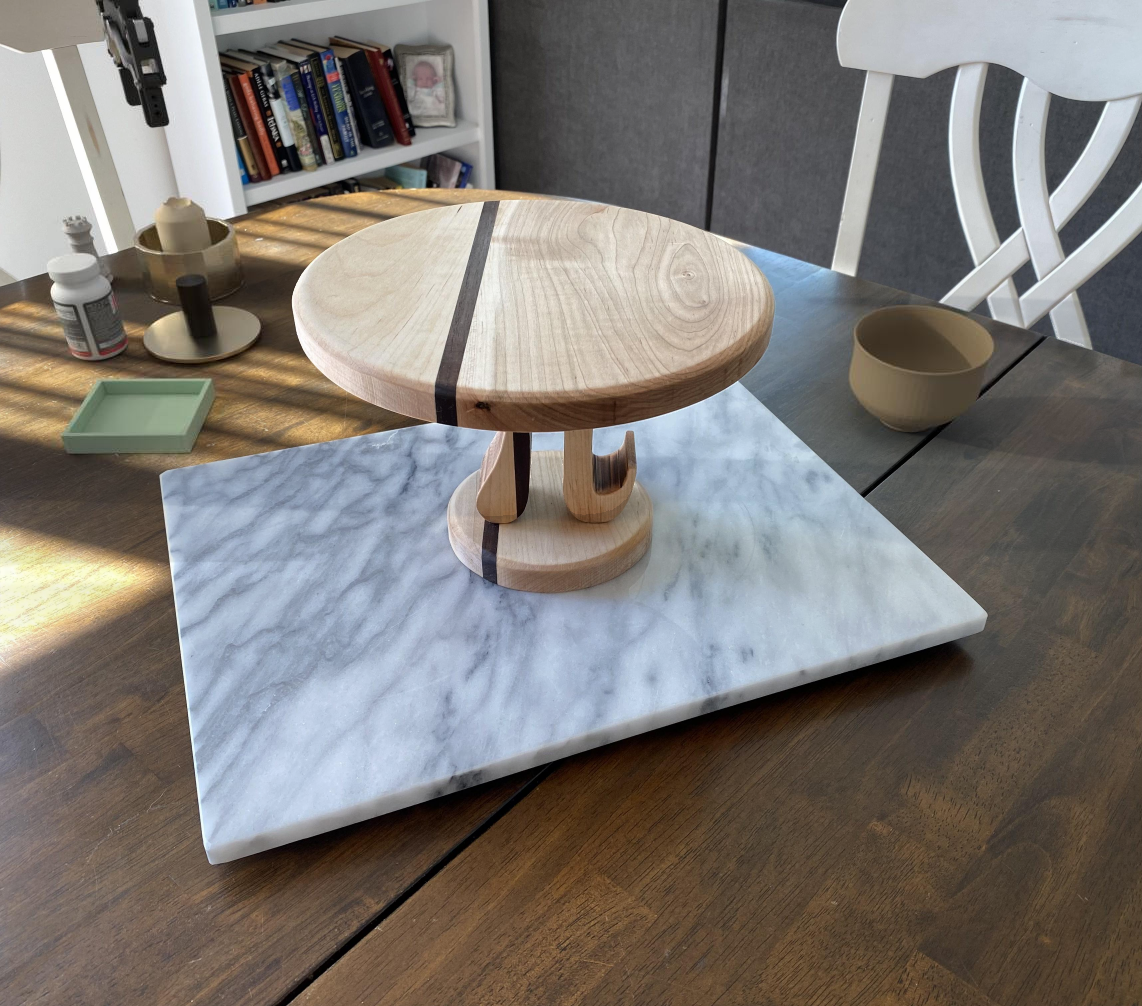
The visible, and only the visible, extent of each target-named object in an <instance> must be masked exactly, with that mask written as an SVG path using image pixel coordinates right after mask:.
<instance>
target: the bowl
mask: <svg viewBox="0 0 1142 1006" xmlns="http://www.w3.org/2000/svg"><path fill="white" fill-rule="evenodd" d="M853 338H854V345H853V351H852V357H851V362H850V367H849V371H848V372H849V373H848V381H849V385H850V388H851V391H852V392H853V395H854V397H855V398H856V399H857V400H858V402H859V403H860V405H861V406H862V407H863V408H864V409H865V410H866V411H867V412H869V414H871V415H872V416H874V417H875V418H877V419H879V421H880V422H881V423H882V424H883V425H885V426H886V427H887V428H890V429H892V430H895V431H899V432H903V433H918V432H922V431H925V430H927V429H928V428H929V429H930V428H935V427H937V426H942V425H944V424H947V423H949V422H952V421H954V420H956V419H957V418H959V417H960V416H962V415H964V414H965V413H966V412H968V411H969V410H970V409H971V408H972V407H973V406H974V405H975V403H976V402H977V400H978V399H979V396H980V393H981V389H982V385H983V382H984V381H983V380H984V377H985V374H986V369H987V367H988V364H989V363H990V360H991V359H992V358H993V356H994V354H995V348H996V347H995V341H994V339H993V336H992V334H990V332H989V331H988V330H987V329H986V328H985V327H984V326H982V325H981V324H980V323H978V322H977V321H976V320H973V319H972V318H969V317H968V316H965V315H964V314H962V313H958V312H956V311H952V310H949V309H946V308H940V307H935V306H929V305H921V304H920V305H919V304H905V305H904V304H903V305H892V306H887V307H882V308H879V309H876V310H874V311H870V312H869V313H867V314H866V315H864V316H863V317H862V318H860V320H859V321H857V323H856V325H855V326H854V330H853Z"/></svg>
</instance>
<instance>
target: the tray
mask: <svg viewBox="0 0 1142 1006" xmlns="http://www.w3.org/2000/svg"><path fill="white" fill-rule="evenodd" d="M216 397H217V392H216V389H215V384H214V380H213V378H98V379H97V381H96V382H95V383H94V385H93V387H92V388H91V389H90V391H89V393H88V394H87V395H86V397H85V399H84V400H83V402H82V403H81V405H80V406H79V407H78V409H77V410H76V411H75V414H74V415H73V417H72V418H71V419H70V421H69V423H68V425H66V427H65V429H64V430H63V432H62V433H61V435H60V438H61V440H62V443H63V446H64V448H65V451H66V454H68V455H69V454H70V455H73V454H74V455H77V454H81V455H83V454H85V455H88V454H89V455H90V454H185V453H186V454H190V453H191V452H192V449H193V447H194V445H195V443H196V441H197V438H198V437H199V434H200V432H201V429H202V427H203V425H204V423H205V422H206V419H207V417H208V415H209V412H210V410H211V408H212V406H213V404H214V401H215V398H216Z"/></svg>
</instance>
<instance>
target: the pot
mask: <svg viewBox="0 0 1142 1006" xmlns="http://www.w3.org/2000/svg"><path fill="white" fill-rule="evenodd" d="M206 221H207V225H208V230H209V234H210V239H211V244H212V246H210V247H206V248H203V249H200V250H193V251H187V252H163V250H162V246H161V242H160V238H159V234H158V230H157V226H156V222H151V223H150V224H148V225H146V226H144V227H142V228H141V229H138V231H137V232H136V233H135V234H134V236H133V237H132V242H133V246H134V249H135V253H136V257H137V260H138V263H139V268H140V271H141V275H142V278H143V283H144V286H145V290H146V292H147V295H148V296H149V297H150V298H151V299H153V300H155V302H159V303H162V304H166V305H174V306H181V303H180V299H179V295H178V291H177V287H176V283H175V281H176V279H178V278H179V277H181V276H184V275H189V274H198V275H202V276H204V277H205V279H206V284H207V288H208V292H209V297H210V301H211V303H212V302H217V301H219V300H223V299H226V298H227V297H229V296H232V295H233V294H235V293H237V292H238V291H239V290H240V289H241V288H242V287H243V285H244V283H245V272H244V269H243V263H242V259H241V254H240V248H239V243H238V239H237V233H236V230H235V228H234V226H233V224H232V223H230V222H229V221H228V222H227V221H226V220H224V219H221V218H217V217H210V216H206Z"/></svg>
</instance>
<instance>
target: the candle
mask: <svg viewBox="0 0 1142 1006" xmlns="http://www.w3.org/2000/svg"><path fill="white" fill-rule="evenodd" d="M206 217H207V216H206V211H205V209H204V208H203V207H201V206H200V205H199V204H197V203H196V202H195V201H193V200H192V199H191V198H188V197H184V196H183V197H180V198H177V197H173V196H172V197H169V198H168V199H167V200H166V201H165V202H162V203H161V205H160V206H159V207H158V209H156V211H155V212H154V214H153V219H154V223H156V226H157V230H158V234H159V238H160V242H161V246H162V250H163V252H187V251H193V250H200V249H203V248H206V247H210V246H212V244H211V239H210V234H209V230H208V225H207V221H206Z"/></svg>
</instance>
